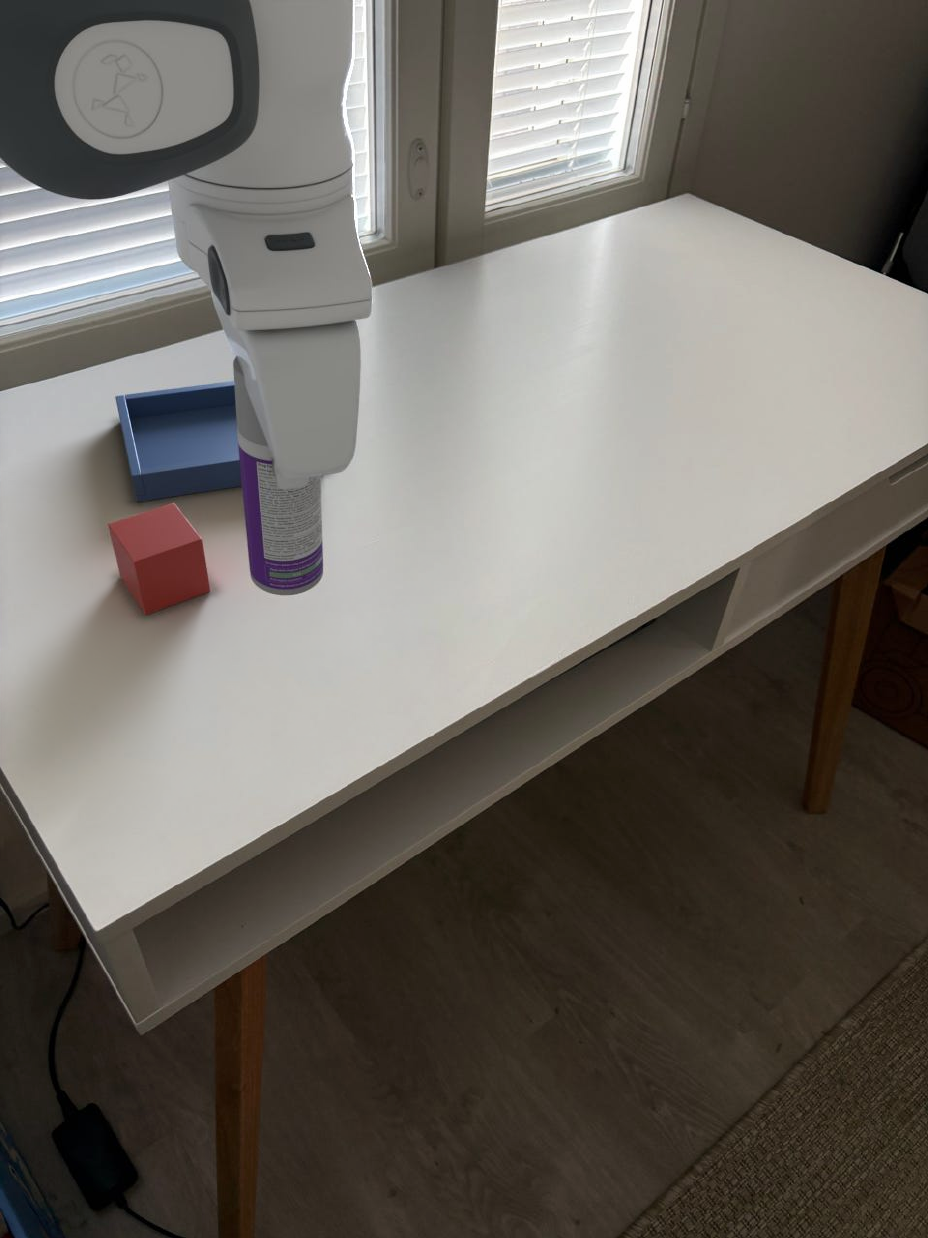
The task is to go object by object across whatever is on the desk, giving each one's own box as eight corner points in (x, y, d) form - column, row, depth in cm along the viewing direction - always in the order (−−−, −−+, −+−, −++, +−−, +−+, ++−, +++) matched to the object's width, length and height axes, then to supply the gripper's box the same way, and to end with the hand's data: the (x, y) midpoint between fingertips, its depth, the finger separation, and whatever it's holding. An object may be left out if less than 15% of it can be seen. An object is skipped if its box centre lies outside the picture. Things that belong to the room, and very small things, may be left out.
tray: (136, 502, 82) (131, 476, 80) (120, 421, 91) (114, 395, 89) (324, 473, 87) (323, 447, 85) (291, 398, 95) (289, 373, 93)
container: (249, 551, 67) (229, 342, 56) (320, 547, 67) (314, 340, 57) (251, 598, 63) (231, 385, 53) (326, 593, 64) (320, 383, 54)
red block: (145, 615, 73) (134, 562, 69) (119, 576, 76) (107, 523, 72) (210, 591, 75) (202, 538, 71) (182, 554, 78) (173, 502, 74)
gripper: (169, 147, 56) (196, 371, 65) (239, 315, 42) (260, 569, 51) (282, 142, 58) (292, 361, 67) (384, 301, 44) (379, 549, 53)
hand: (279, 453), depth 59 cm, fingers closed on container, 5 cm apart
